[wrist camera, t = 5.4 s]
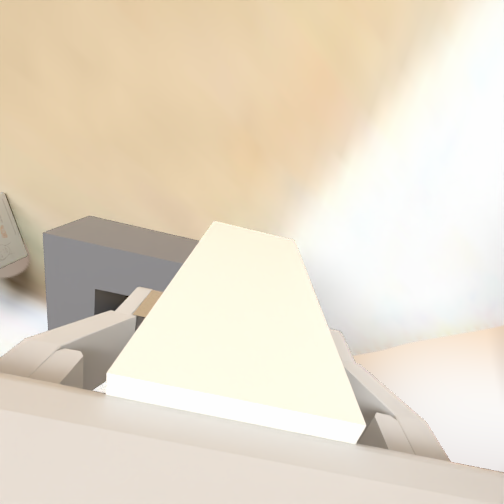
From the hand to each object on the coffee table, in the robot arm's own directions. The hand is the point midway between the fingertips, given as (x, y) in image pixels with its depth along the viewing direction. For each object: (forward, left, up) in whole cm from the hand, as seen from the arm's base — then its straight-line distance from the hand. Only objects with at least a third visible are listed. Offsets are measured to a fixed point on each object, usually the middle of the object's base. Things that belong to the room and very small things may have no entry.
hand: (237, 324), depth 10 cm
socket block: (+10, +13, -21) cm, 27 cm away
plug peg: (0, 0, -5) cm, 5 cm away
